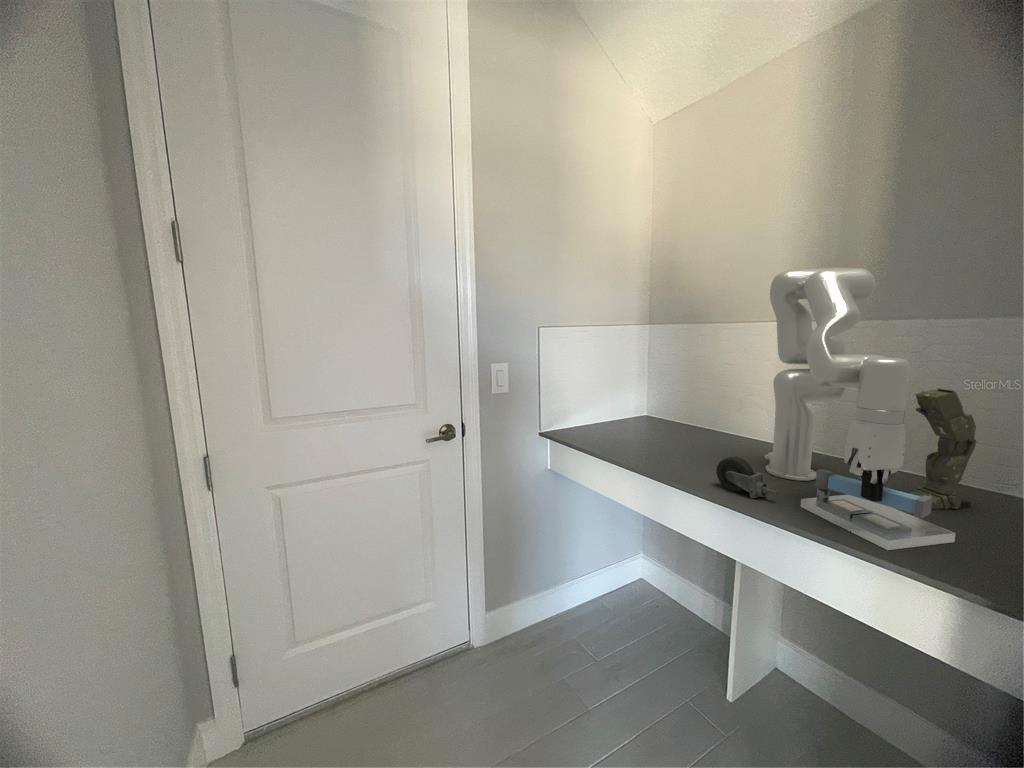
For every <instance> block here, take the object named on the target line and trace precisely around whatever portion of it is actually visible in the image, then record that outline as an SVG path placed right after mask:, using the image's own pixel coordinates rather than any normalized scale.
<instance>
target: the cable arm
mask: <svg viewBox="0 0 1024 768" xmlns="http://www.w3.org/2000/svg"><path fill="white" fill-rule="evenodd" d="M814 487H816V488H820V489H824V490H830V491H834V492H837V493H841V494H843V495H851V496H855V497H858V498H861V499H865V498H863V497H861V487H862V480H858V479H854V478H852V477H847V476H844V475H840V474H834V471H831V470H828V469H821V468H819V469H816V478H815V486H814ZM909 493H910V492H909ZM909 493H908V492H904V491H900V490H896V489H892V488H890V487H885V486H883V496H882V501H879V502H878V501H877V502H875V503H879V504H882V505H885V506H889V507H892V508H894V509H897V510H899V511H902V512H905V513H908V514H909V513H910V514H913V516H914V517H917V518H920V519H922V520H923V519H924V518H925V517H927V516H930V515H931V513H932V509H931V507H932V499H933V497H930V496H926V495H924V496H922V497H920V496H917V495H913V494H909ZM865 500H868V499H865ZM868 501H870V500H868ZM872 502H873V501H872Z"/></svg>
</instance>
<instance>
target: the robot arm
mask: <svg viewBox="0 0 1024 768" xmlns="http://www.w3.org/2000/svg"><path fill="white" fill-rule="evenodd" d="M876 285H877V284H876V278H875V277H874V274H873V273H872V272H870V270H868V269H866V268H862V267H859V268H857V267H822V268H821V267H819V268H799V269H798V268H796V269H790V270H785V271H782V272H779V273H778V274H777V275H775V276H774V278H773V279H772V281H771V283H770V289H769V301H770V304H771V306H772V310H773V312H774V316H775V319H776V336H777V337H776V338H777V340H776V341H777V353H778V358H779V360H780V362H782V363H783V364H787V365H808V367H809V368H789V369H785V370H781V371H779V372H778V373H777V374H775V376H774V379H773V394H774V401H775V408H774V409H775V417H774V428H773V429H774V430H773V431H774V432H773V443H772V445H773V447H772V451H770V452H768V453H767V454H765V455H764V458H765V459H767V460H768V461H769V463H768V464H766V465H765V471H766V472H767V473H768V474H770V475H772V476H775V477H778V478H782V479H785V480H792V481H800V482H802V481H803V482H804V481H806V482H807V481H808V482H809V481H812V480H816V473H817V471H815V470H813V469H811V466H812V453H813V441H814V433H815V432H814V431H815V430H814V429H815V427H814V426H815V416H814V413H813V411H812V410H811V409H810V408H809V406H808V405H807V403H809V402H811V403H812V402H818V403H819V402H821V403H823V402H824V403H829V402H839V401H840V400H842V399H843V398H844V397H845V396H846V394H847V391H848V388H858V389H857V399H856V400H857V401H856V409H855V411H856V412H855V420H854V421H853V420H852V422H851V425H850V427H849V430H848V433H847V438H846V441H845V447H844V455H843V461H844V464H845V465H847V466H850V467H849V473H850V474H853V475H855V476H858V477H859V479H860V481H862V487H861V497H863V498H865V499H868V500H870V501H873V502H877V501H878V502H879V501H882V496H883V487H885V486H884V484H886V483H887V481H888V478H889V477H890V476H891V475H892V474H895V473H898V471H899V468H901V467H903V465H904V461H905V454H906V428H905V424H904V423H905V421H904V420H905V414H906V405H907V395H908V388H909V387H908V385H909V380H910V379H909V378H910V377H909V376H910V368H911V366H910V362H909V361H908V360H907V359H905V358H901V357H887V356H884V355H881V354H880V355H879V354H855V353H854V354H847V351H846V344H845V342H844V340H843V338H842V336H841V335H840V334H842V333H845V332H847V331H849V330H851V329H852V328H854V327H855V326H856V325H857V324H859V322H860V321H861V318H862V316H861V315H862V314H861V311H860V310H859V307H858V306H857V303H860V302H865V301H867V300H869V299H870V298H871V297H872V295H874V292H875V290H876ZM799 300H807V302H808V306H809V307H810V310H811V313H812V315H813V317H812V315H811V313H810V311H809V310H808V309H807V308H806V307H805V305H803V304H802V302H800V301H799ZM812 318H814V321H815V323H816V327H815V329H814V330H813V325H812V323H813V321H812V320H813V319H812Z"/></svg>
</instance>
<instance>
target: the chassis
mask: <svg viewBox="0 0 1024 768" xmlns="http://www.w3.org/2000/svg"><path fill="white" fill-rule="evenodd" d="M816 488H817V487H816ZM830 493H831V490H824V489H820V488H817V489H816V497H810V498H809V497H807V498H801V499H800V508H802V509H804V510H806V511H808V512H810V513H813V514H814V515H816V516H818V517H820V518H821V519H822V518H823V519H824V520H826V521H827V522H830V523H832V524H834V525H837V526H838V527H841V529H842V528H843V529H844V530H846V531H848V532H850V531H851V532H850V533H852V534H853V535H856V536H858V537H860V538H862V539H864V540H865V541H869V543H872V544H874V545H875V546H878V547H880V548H881V549H884V550H886V551H892V550H893V551H894V550H900V549H901V550H902V549H909V548H910V549H911V548H918V547H924V546H925V547H926V546H933V545H935V546H936V545H941V544H949V543H950V544H951V543H955V541H956V534H957V533H956V532H954V531H952V530H949V529H948V528H947V529H946V528H944V527H942V526H939V525H938V524H937V525H936V524H935V523H931V522H929V521H927V520H924V519H923V518H922V519H921V518H917V517H914V515H912V514H909V513H908V512H905V511H903V510H899V509H896V508H892V507H889V506H885V505H882V504H879V503H875V502H872V501H868V500H865V499H861V498H858V497H855V496H851V495H848V494H840V495H831V496H830Z"/></svg>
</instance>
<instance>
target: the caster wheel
mask: <svg viewBox="0 0 1024 768" xmlns="http://www.w3.org/2000/svg"><path fill="white" fill-rule="evenodd" d="M715 471H716V476H717V479H718V481H719V483H720V484H721V485H722V486H723V487H724V488H725V489H726V490H727V489H728V490H730V491H732V492H742V491H746V492H747V493H749V497H750V498H751V499H754V498H756V499H758V498H759V496H760V497H762V498H765V497H766V495H767V494H769V495H770V494H771V495H776V496H777V495H778V494H779V491H778V490H777V489H776V490H775V489H771V488H768V485H767V483H764V473H763V472H758V471H754V469H753V467H752V465H751V464H750V463H749V462H748V461H747V460H745V459H744V458H741V457H739V456H728V457H725V458H723V459H722V460H720V461H719V463H718V464H717V465H716V470H715ZM757 497H758V498H757ZM750 498H749V499H750ZM754 500H755V499H754Z"/></svg>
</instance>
